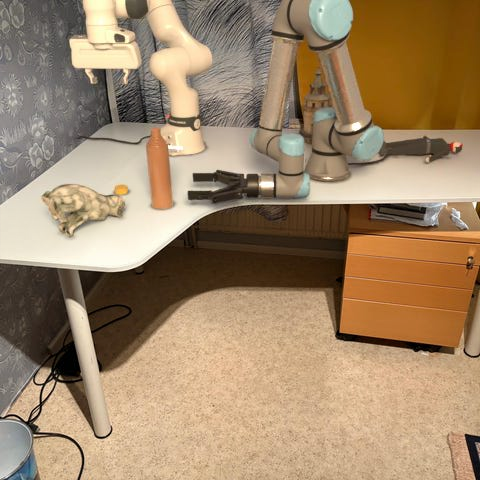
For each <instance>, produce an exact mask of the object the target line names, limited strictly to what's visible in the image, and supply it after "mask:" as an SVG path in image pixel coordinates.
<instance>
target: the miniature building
mask: <svg viewBox="0 0 480 480" xmlns="http://www.w3.org/2000/svg"><path fill="white" fill-rule="evenodd" d="M316 68H317V69H316V71H315V72H314V75H315V76H314V79H313V81H312V83H310V84H309V85H308V86H309V93H307V94H306V95H304V96H303V97H302V98H303V105H301V106H302V109H303V114H302V115H303V124H302V127H300V129H299V132H298V134H299V135H301V136H302V137H303V138H304V142H307V143H309V144H312V133H313V119H314V113H315V112H316V111H317V110H319V109H323V108H331V107H333V104H332V103H331V98H330V95H329V93H326V82H325V81H324V82H323V78H322V70H320V68H321V66H320V65H317V66H316Z"/></svg>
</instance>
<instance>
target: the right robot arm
mask: <svg viewBox="0 0 480 480" xmlns="http://www.w3.org/2000/svg"><path fill="white" fill-rule="evenodd" d="M353 21H354V11H353V7H352V5H351V2H350V0H281V2H280V4H279V5H278V7H277V9H276V12H275V16H274V20H273V22H272V27H271V32H270V37H271V39H272V46H271V52H270V58H269V63H268V70H267V76H266V81H265V86H264V87H265V88H264V94H263V97H262V98H263V99H262V103H261V104H262V105H261V110H260V115H259V122H258V127H257V128H255V129H253V131H252V133H251V134H250V137H249V143H250V146H251V148H253V149H254V150H255V151H256V152H258V153H259V154H261V155H264V156H266V157H267V158H270V159H271V160H273V161H275V162H277V163H278V173H276V172H275V173H273V172H272V173H270V172H269V173H267V172H266V173H265V172H264V173H263V172H262V173H260V174H258V173H247V174H246V175H245V173H238V172H232V171H227V170H222V169H215V171H214V172H193V173H192V182H193V183H209V182H210V183H217V182H218V183H222V184H224V185H227V186H225V187H222V188H219V189H216V190H212V189H209V190H187V200H188V201H210V203H211V204H212V205H215V204H220V203H224V202H229V201H230V202H231V201H235V200H243V199H244V194H246V198H247V199H258V198H261V199H267V200H269V199H302V198H303V199H304V198H307V197H309V195H310V192H311V180H313V181H314V180H315V181H316V182H317V181H318V182H324V183H325V182H326V183H335V182H341V181H343V180H346V179H348V177H350V166H362V165H371V164H375V163H376V164H377V163H379V162H382V161H384V160H386V159H387V158H388V157H389V156H391V155H392V154H386V155H384V156H383V157H382V158H380V159H376V160H373V161H371V160H372V159H373V158H375V157H376V156H377V155H378V153H380V149H381V147H382V145H383V142H384V141H385V133H384V130H383V129H382V128H381V126H379V125H375V124H374V120H373V117H372V113H371V112H370V110H367V109H365V106H364V103H363V99H362V96H361V92H360V89H359V84H358V81H357V78H356V77H357V76H356V73H355V70H354V67H353V66H354V65H353V63H352V59H351V54H350V51H349V48H348V45H347V40H348V39H349V37H350V31H351V29H352V26H353V25H352V22H353ZM304 39H305V40H306V43H307V47H308V49H309V51H311V52H313V53H316V56H317V60H318V62H319V66H320V69H321V73H322V76H323V79H324V82H325V86H326V88H327V92H328V95H330V102H331V105H332V106H331V108H323V109H319V110H317V111H316V112H315V113H314V119H313V133H312V143H311V153H310V155H309V158H308V160H307V157H306V158H305V152H306V147H305V141H304V138H303V136H301V135H300V134H299V133H291V132H290V133H284V134H283V128H284V124H285V119H286V114H287V113H286V112H287V108H288V102H289V99H290V92H291V88H292V82H293V78H294V71H295V66H296V60H297V56H298V52H299V51H298V50H299V46H300V45H301V44H302V43H303V42H304ZM450 144H451V143H448V145H450ZM347 157H349V158H352V159H353V160H355V161H356V160H357V161H359V162H348V159H347ZM305 160H307V161H305ZM304 164H306V166H305V165H304ZM304 166H305V169H304ZM304 170H305V171H304Z"/></svg>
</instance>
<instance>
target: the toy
mask: <svg viewBox="0 0 480 480" xmlns="http://www.w3.org/2000/svg"><path fill="white" fill-rule="evenodd" d="M448 144H450V145H448ZM463 147H464V146H463V143H462V142H460V141H452V142H450V143H448V142H447V141H446V140H445V139H444V138H443V137H438V138H429V137H428V136H427V135H420V136H419V138H412V139H404V140H399V141H390V142H386V141H385V140H384V142H383V145H382V147H381V149H380V151H379V156H380V157H384V156H386V155H387V154H391V155H395V156H396V155H417V156H423V155H426V154H430V155H429V156H428V157H425V162H426V163H431V162H434V161H435V160H436V159H439V158H446V157H448V156H449V154H450V152H451V153H455V154H459V153H461V152H462V150H463ZM432 154H433V155H432Z"/></svg>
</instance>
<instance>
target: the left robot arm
mask: <svg viewBox="0 0 480 480" xmlns="http://www.w3.org/2000/svg"><path fill="white" fill-rule="evenodd" d="M81 3H82V8H83V11H84V13H85V29H86V34H73V36H71V37H70V38H69V48H70V49H71V65H72V66H73V67H74V69H84V71H85V73H86V75H87V76H88V78H89V80H90V84H91V85H96V84H98V76H95V75H94V74H93V72H92V71H93V69H94V70H95V69H97V70H100V69H101V70H122V71H123V73H124V76H122V77H120V81H121V82H120V83H121V85H128V84H129V79H128V77H129V76H130V74H131V70H138V69H139V68H140V67H141V66H142V55H141V51H140V46H139V44H138V43H137V42H136V41H135V40H136V33H135V32H134V31H131V30H128V29H125V28H123V27H120V26H119V23H118V19H132V20H143V19H144V18H146V20H147V22H148V25H149V27H150V29H151V32H152V34H153V36H154V38H155V39H156V40H157V41H158V42H159V43H162V44H164V45H166V46H167V47H166V48H162V49H160V50H157V51H155V52H153V53H152V54H151V56H150V58H149V70H150V73H151V74H152V76H153V77H154V78H155V79H156V80H158V81H159V82H160V83H161V84H162V85H163V87H165V88H164V89H165V90H166V92H167V96H168V102H169V106H170V107H169V108H170V109H169V110H170V113H168V114H167V115H165V119H166V120H167V123H166V124H164V125H163V126H162V127H160V129H161V135H162V137H163V138H164V139H165V140H166V141H167V143H168V149H169V156H174V157H175V156H176V157H177V156H182V155H183V156H186V155H194V154H199V153H201V152H204V151H205V149H206V145H205V142H204V139H203V138H204V137H203V133H202V127H201V126H202V115H201V112H200V100H199V99H200V98H199V97H200V95H199V93H198V92H197V90H196V89H195V88H193V87H191V86H189V85H188V83H187V77H193V76H198V75H201V74H203V73H205V72H207V71H209V70H210V69H211V68H212V66H213V61H214V59H213V54H212V51H211V49H210V48H209V47H208V46H207V45H206V44H203V43H201V42H199V41H198V40H197V39H196V38H194V36H192V35H191V34H190V33H189V32H188V30H187V29H186V27H185V26H184V24H183V22H182V21H181V18H180V16H179V14H178V12H177V10H176V8H175V4H174V3H173V1H172V0H81ZM150 136H151V134H150V135H146V136H143V137H141V138H140V139H139V140H138V141H136V142H131V141H126V140H121V139H120V140H119V139H115V138H112V137H111V138H110V137H91V136H87V135H80V136H78V137H77V140H79V139H81V138H84V139H88V140H107V141H113V142H118V143H124V144H128V145H139V144H140V143H141V142H142V141H143V140H145V139H149V138H150Z"/></svg>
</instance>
